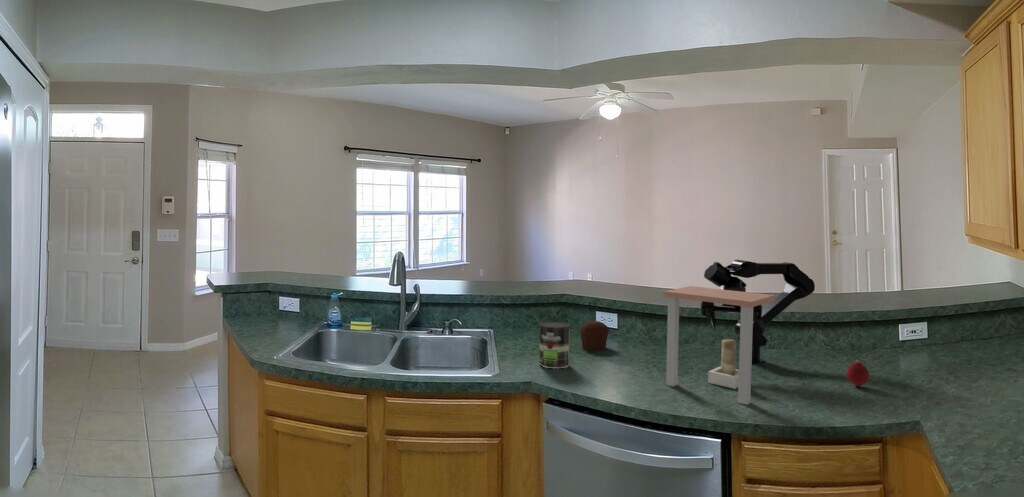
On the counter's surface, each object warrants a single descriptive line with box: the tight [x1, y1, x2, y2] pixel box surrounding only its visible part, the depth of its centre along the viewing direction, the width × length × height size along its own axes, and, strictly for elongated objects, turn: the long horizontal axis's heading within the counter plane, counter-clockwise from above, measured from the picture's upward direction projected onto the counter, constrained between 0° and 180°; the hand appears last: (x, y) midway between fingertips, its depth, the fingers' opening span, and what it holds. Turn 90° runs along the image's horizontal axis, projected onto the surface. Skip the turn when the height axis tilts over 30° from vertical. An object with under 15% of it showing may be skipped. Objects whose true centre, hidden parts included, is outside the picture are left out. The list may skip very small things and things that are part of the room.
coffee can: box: [539, 321, 571, 369], centre depth 192 cm, size 10×10×14 cm
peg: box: [720, 338, 737, 376], centre depth 173 cm, size 4×4×13 cm
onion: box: [846, 359, 870, 387], centre depth 170 cm, size 6×6×8 cm
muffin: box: [578, 320, 611, 352], centre depth 216 cm, size 12×11×10 cm
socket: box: [707, 365, 739, 390], centre depth 174 cm, size 8×8×4 cm
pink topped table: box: [663, 285, 776, 405], centre depth 167 cm, size 16×26×28 cm, turn 45°
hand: (729, 331), depth 183 cm, fingers open, 9 cm apart
